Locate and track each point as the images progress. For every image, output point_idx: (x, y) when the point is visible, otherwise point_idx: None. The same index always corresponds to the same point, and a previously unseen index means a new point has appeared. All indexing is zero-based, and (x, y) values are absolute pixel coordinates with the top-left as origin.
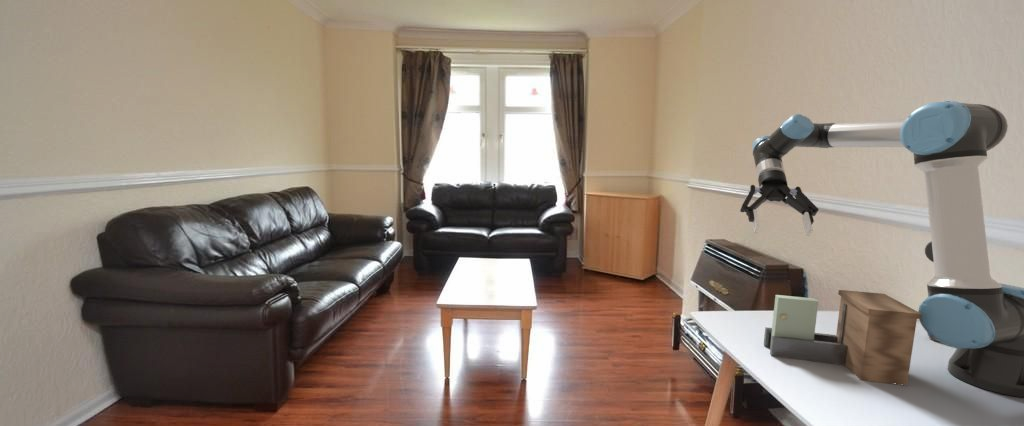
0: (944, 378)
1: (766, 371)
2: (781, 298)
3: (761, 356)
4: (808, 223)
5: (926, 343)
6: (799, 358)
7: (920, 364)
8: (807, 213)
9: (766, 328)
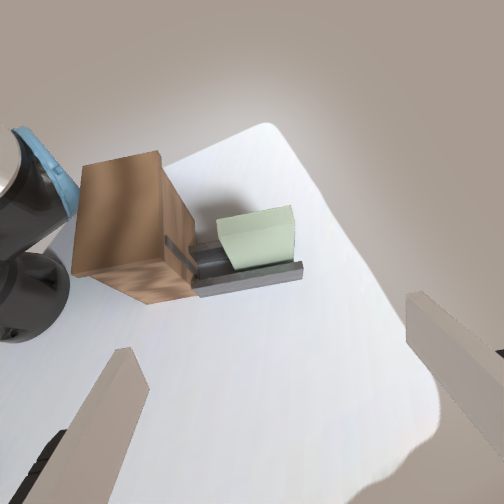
0: (86, 276)
1: (301, 189)
2: (284, 207)
3: (306, 231)
4: (107, 387)
5: (14, 438)
6: None
7: (89, 314)
8: (37, 493)
9: (301, 263)
